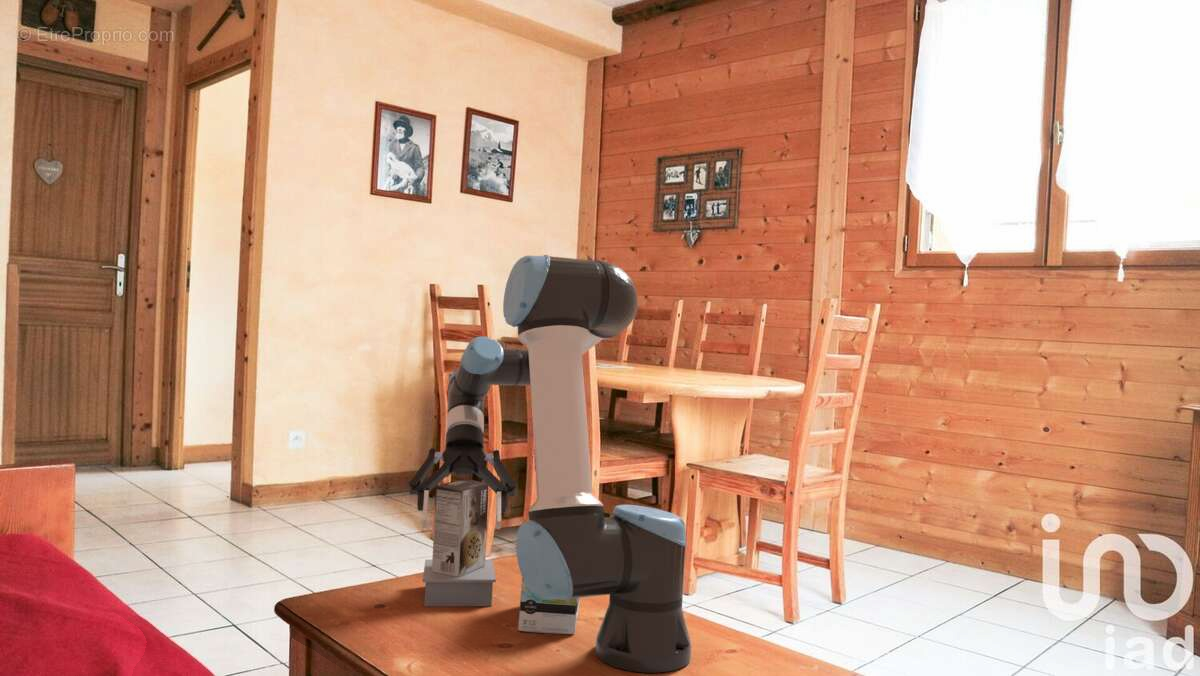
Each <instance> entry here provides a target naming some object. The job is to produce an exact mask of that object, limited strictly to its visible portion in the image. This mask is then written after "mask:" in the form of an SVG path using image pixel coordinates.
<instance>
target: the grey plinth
mask: <svg viewBox="0 0 1200 676" xmlns="http://www.w3.org/2000/svg"><path fill="white" fill-rule="evenodd" d="M495 572H496V571H495V566H494V560H493V559H485V566H483V567H481V568H478V569H476V570H474V571H472V572H469V573H467V574H465V575H463V576H461V577H455V576H450V575H445V574H441V573H436V572H432V559H425V560H424V568H423V576H422V583H425V587H424V588H425V589H424V607H492V606H493V605H492V604H493V603H492V602H493V585H494V584H493V583H496V581H497V579H496V573H495Z"/></svg>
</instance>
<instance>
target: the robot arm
mask: <svg viewBox="0 0 1200 676" xmlns="http://www.w3.org/2000/svg"><path fill="white" fill-rule="evenodd" d="M502 302H503V303H502V304H503V305H502V308H503V309H502V310H503V311H502V312H503V313H502V314H503V317H504V321H505V322H506V324H507V325H509V326H511V327H513V328H516V327H517V338H518V339H517V340H518V341H519V342H520V343H521V344H522V345H523V346H524V347H526V349H524V348H523V349H522V348H503V346H502V344H500V342H498V340H496V339H492V338H490V336H489V337H488V336H477V337H475V338H473V339H472V340H471V341H469V342H468V344H467V346H466V348H465V349H464V351H463V354H462V356H461V358H460V362H459V365H458V368H456V369H455V370H454V371H452V373H451V374H450V375H449V381H448V385H447V393H448V395H447V412H446V413H447V414H446V425H445V426H446V427H445V429H446V430H445V432H446V433H445V449H444V451H436V449H435V448H430V449H429V450H428V455H427V457H426V459H425V460H424V462H423V463H422V465H421V466H420V468H419V469H418V470H417V472H416V473H415V475H414V476H413V478H412V479H411V481H410V482H409V484H408V493H409V494H410V495H416V496H417V503H416V505H417V506H416V508H417V511H421V512H422V519H421V520H422V526H421V528H422V529H427V525H428V510H429V509H428V508H429V493H430V492H431V491H432V490H433V489H435V488H436V486H438V485H440V483H441V482H442V481H443V480H445V478H448V477H449V476H450V475H452V473H454V474H455V475H470V476H471V475H472V474H475V475H476V476H477V477H478V478H480V479H481V480H482V481H483V483H489V484H488V488H490V489H491V490H492V491H493V492H494V493H495V494H496V499H495V507H496V508H495V514H496V515H495V529H496V530H501V525H502V513H505V512H507V508H508V497H514V496H516V491H517V485H516V484H515V481H514V479H513V478H512V476H511V475H510V473H509V472H508V469H506V467H505V465H504V463H503V461H502V459H501V456H500V451H499V450H498V449H494V450H493V452H492V453H491V452H490V453H486V452H485V449H484V441H485V440H484V430H485V429H484V428H485V417H484V416H485V400H486V396H487V395H488V393H489V390H490V388H491V386H522V387H523V386H529V387H530V398H531V399H530V400H531V415H532V431H533V432H532V433H533V447H534V448H533V449H534V463H535V483H536V500H535V502H534V503H533V504H532V505H531V507H530V508H529V509H528V513H527V514H528V520H526V521H525V522H523V523H521V524H520V525H519V528H518V529H517V532H516V537H517V539H516V540H515V542H516V543H515V550H516V560H517V563H518V568H519V572H520V574H521V578H522V577H523V580H524V582H525V584H526V585H527V587H528V589H529V590H530V592H531V593H532V594H533V595H535V596H536V597H537V598H539V599H543V600H556V599H560V600H569V599H571V598H588V597H589V598H590V597H598V596H608V595H609V601H608V605H607V608H606V611H605V613H604V617H603V619H602V621H601V624H600V626H599V627H600V628H599V630H598V633H597V635H596V639H595V654H596V657H597V658H599V660H601V662H604V663H605V664H606V665H607V664H608V665H610V666H611V667H614V668H617V669H620V670H625V671H629V672H637V673H645V674H646V673H650V674H651V673H666V672H672V671H677V670H679V669H682V668H683V667H685V666H687V665H688V664H689V663H690V662H691V656H692V655H691V654H692V643H691V638H690V634H689V630H688V627H687V623H686V619H685V614H684V611H683V599H684V598H683V596H684V595H683V594H684V583H685V582H684V580H685V577H684V576H685V564H686V563H685V560H686V548H687V547H688V546H687V545H688V544H687V533H686V532H687V531H686V530H687V528H686V524H685V521H684V519H682V517H681V516H678V515H677V514H675V513H672V512H671V511H666V510H662V509H659V508H654V507H648V506H644V505H637V504H636V505H634V504H619V505H616V506H614V508H613V510H612V516H609V517H607V516H606V517H605V510H604V509H605V508H604V504H603V503H602V502H601V500H599V499H598V498H597V497H595V494H594V493H593V481H592V470H591V467H592V466H591V458H590V456H591V455H590V445H589V442H590V441H589V431H588V430H589V429H588V417H587V416H588V415H587V406H586V391H585V380H584V366H583V355H585V354H586V353H587V352H589V351H590V350H591V349H592V348H593V347H595V346H596V345H597V344H599V343H601V341H603V340H604V339H605V340H609V339H612V338H615V337H617V336H619V335H620V334H621V333H622V332H624V331H625V330H626V329H628V327H629V326H630V325H631V323H632V322H633V321H634V319H635V318H636V314H637V311H638V308H639V307H638V306H639V297H638V292H637V288H636V286H635V284H634V282H633V279H631V277H630V276H629V274H627V273H626V271H625V270H624V269H622V268H621V267H619V266H617V265H616V264H614V263H611V262H608V261H605V260H591V259H584V258H583V259H582V258H571V257H562V256H561V257H559V256H550V255H548V254H543V255H524V256H522V257H521V258H519V259H518V260H517V261H516V262H515V264H514V265H513V266H512V268H511V271H510V273H509V275H508V278H507V281H506V284H505V289H504V294H503V301H502ZM440 460H442V462H443V463H442V465H441V466H440V467H439V468H438V469H437V470H436V471H434V472H433V473H432V474H431V475H430V476H429V477H427V476H428V475H429V473H430V472H431V470H432V469H433V468H434V466H435V464H437V463H439V461H440ZM487 461H488V463H489V464H490V465H491V466H492V467H493V469H494V471H495V473H496V474H497V475H496V476H497V477H496V476H495V475H494V474H493V472H492V471H490V469H488V468H487V467H486V464H485V462H487ZM426 478H427V479H426ZM498 478H499V479H498ZM425 479H426V480H425Z"/></svg>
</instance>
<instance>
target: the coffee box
mask: <svg viewBox="0 0 1200 676" xmlns="http://www.w3.org/2000/svg"><path fill="white" fill-rule="evenodd" d="M488 484H489V483H485V482H484V481H483V482H481V481H478V480H474V479H467V478H466V479H465V478H461V479H457V480H453V481H449V482H446V483H443V484H442V483H441V484H437V485H436V486H435V493H434V494H435V498H434V517H433V518H434V521H433V536H432V537H433V539H432V541H433V542H432V559H431V560H432V572H436V573H441V574H445V575H450V576H455V577H461V576H463V575H465V574H467V573H469V572H472V571H474V570H476V569H478V568H481V567H483V566H485V560H487V558H486V556H487V555H486V554H487V553H486V552H487V531H488V510H489V509H488V508H489V507H488V505H489V486H488Z"/></svg>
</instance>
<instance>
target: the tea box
mask: <svg viewBox="0 0 1200 676" xmlns="http://www.w3.org/2000/svg"><path fill="white" fill-rule="evenodd" d="M519 601H520V604H519V614H518V615H519V616H518V627H517V629H518V631H520V632H527V633H528V632H529V633H538V634H540V633H543V634H553V635H555V634H557V635H575V633H576V628H577V623H578V622H577V621H578V616H579V615H578V614H579V609H580V608H579V607H580V598H571V599H569V600H560V599H556V600H543V599H539V598H537V597H536V596H535V595H533V594H532V593H531V592H530V590H529V589H528V587H527V585H526V584H525V582H524V580H523V577H522V576H521V590H520V600H519Z"/></svg>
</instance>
